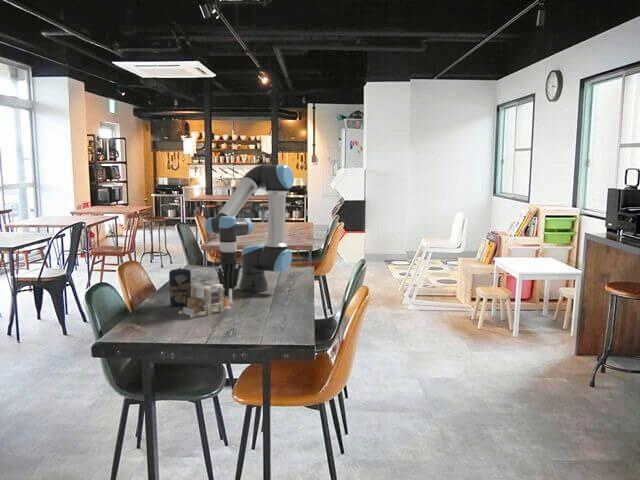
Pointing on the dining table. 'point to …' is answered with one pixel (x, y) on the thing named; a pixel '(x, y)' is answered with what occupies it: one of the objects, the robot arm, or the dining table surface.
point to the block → (195, 304)
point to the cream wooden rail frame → (208, 297)
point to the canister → (179, 287)
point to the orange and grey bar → (191, 311)
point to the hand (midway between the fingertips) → (229, 302)
